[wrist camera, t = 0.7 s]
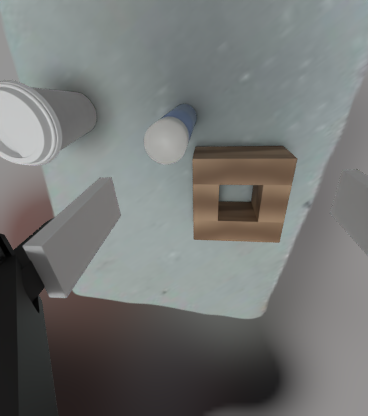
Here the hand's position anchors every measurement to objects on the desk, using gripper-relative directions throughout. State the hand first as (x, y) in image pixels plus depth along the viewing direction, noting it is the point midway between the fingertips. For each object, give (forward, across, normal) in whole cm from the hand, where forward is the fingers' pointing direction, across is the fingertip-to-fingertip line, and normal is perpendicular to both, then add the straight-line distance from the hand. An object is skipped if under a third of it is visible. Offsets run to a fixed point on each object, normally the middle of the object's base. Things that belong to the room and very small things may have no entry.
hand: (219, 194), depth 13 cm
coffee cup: (+27, -23, +3) cm, 35 cm away
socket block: (+27, +4, -11) cm, 29 cm away
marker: (+27, -5, +1) cm, 27 cm away
